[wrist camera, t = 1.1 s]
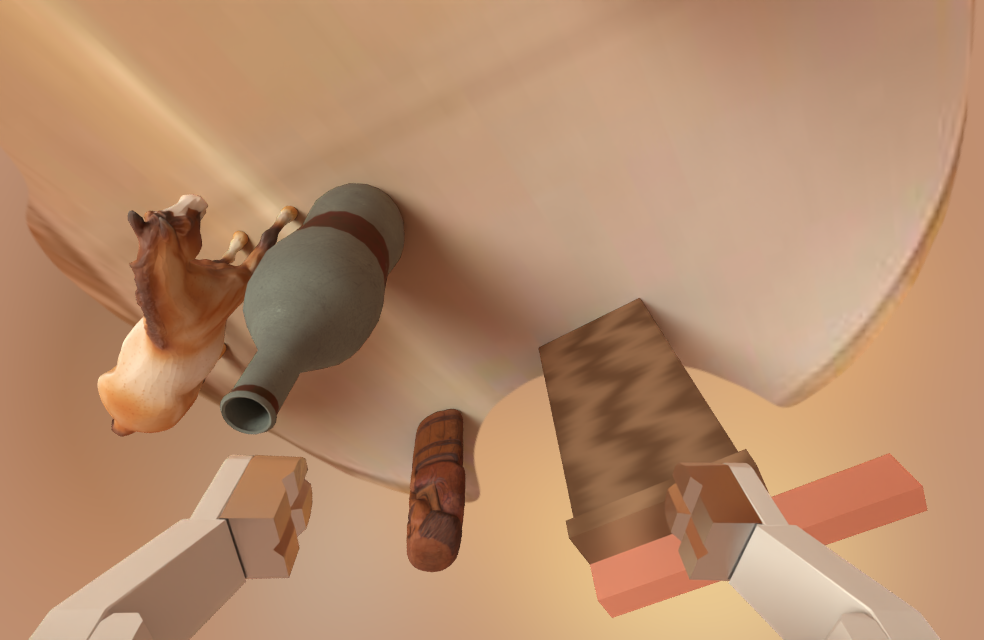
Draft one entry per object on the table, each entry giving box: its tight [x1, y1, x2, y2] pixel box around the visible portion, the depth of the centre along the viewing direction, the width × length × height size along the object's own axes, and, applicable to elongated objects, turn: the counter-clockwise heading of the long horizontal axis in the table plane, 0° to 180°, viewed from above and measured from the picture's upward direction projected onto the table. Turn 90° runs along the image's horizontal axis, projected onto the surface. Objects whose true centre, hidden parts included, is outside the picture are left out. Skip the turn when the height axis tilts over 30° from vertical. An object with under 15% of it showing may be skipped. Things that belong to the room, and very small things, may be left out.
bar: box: [590, 453, 927, 618], centre depth 35 cm, size 22×3×3 cm, turn 120°
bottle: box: [220, 183, 404, 434], centre depth 38 cm, size 9×9×30 cm
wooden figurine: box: [407, 409, 465, 572], centre depth 58 cm, size 12×6×18 cm, turn 171°
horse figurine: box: [98, 194, 298, 436], centre depth 45 cm, size 31×8×21 cm, turn 142°
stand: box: [539, 298, 769, 564], centre depth 48 cm, size 14×10×26 cm
